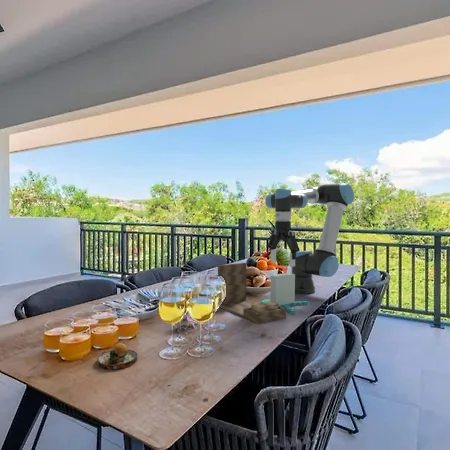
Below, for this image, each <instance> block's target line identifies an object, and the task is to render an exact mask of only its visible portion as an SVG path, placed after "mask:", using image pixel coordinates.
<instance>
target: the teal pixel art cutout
mask: <svg viewBox="0 0 450 450" xmlns="http://www.w3.org/2000/svg"><path fill="white" fill-rule="evenodd" d="M269 301H270V298H269V299H268V298H265V299H263V300H262V301H260V303H263V302H269ZM309 304H310V301H308V300H304V301H299V300H298V301H295V303H289V304H284V305H278V306H280V307H283V308H286V313H289V314H290V315H297V312H298V310H297V309H294V308H293V307H296V306H301V307H302V306H308V305H309ZM291 306H292V307H291Z"/></svg>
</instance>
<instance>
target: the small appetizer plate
mask: <svg viewBox="0 0 450 450" xmlns="http://www.w3.org/2000/svg"><path fill="white" fill-rule="evenodd" d="M128 348H129V347H128V346H127V345H126V344H125V341H123V342H119V343H116V344H115V345H114V346H113V349H112V350H109V351H105V352H104V353H101V354H100V355H99V357H98V358H97V363H98V366H99V369H100V368H101V369H103V370H105V367H106V368H107V369H108V370H109V371H113V370H114V371H115V370H117V369H120V368H122V369H126V368H129V367H132V366H133V365H135V364H136V363H137V362H138V353H137V352H136V351H134V350H132V349H128Z"/></svg>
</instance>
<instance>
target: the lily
mask: <svg viewBox="0 0 450 450" xmlns="http://www.w3.org/2000/svg"><path fill="white" fill-rule="evenodd" d="M184 320H187V321H188V322H190V323H191V325H192V326H193V328H194V329H196V326H195V325H196V324H198V323H197V322H195V321H193V320H192V319H191V318H190V316H189V315H188V314H186V315H185V314H184V317H183V318H182V320H181V321H180V323H179V325H178V327H180V325H181V324H182V323H183V322H184ZM195 323H196V324H195Z"/></svg>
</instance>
